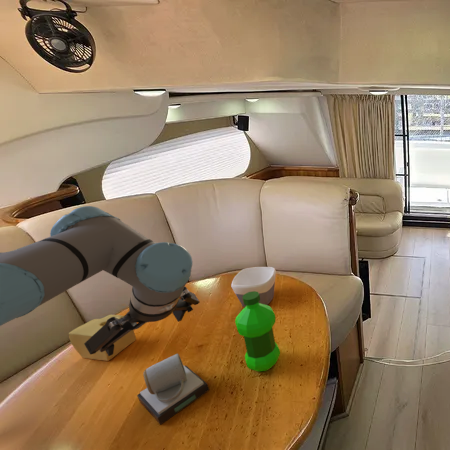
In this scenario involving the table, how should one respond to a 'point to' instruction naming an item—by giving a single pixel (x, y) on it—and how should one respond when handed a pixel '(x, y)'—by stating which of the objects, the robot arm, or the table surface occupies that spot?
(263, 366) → the plastic bottle
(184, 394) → the scale
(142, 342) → the table surface
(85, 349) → the cheese
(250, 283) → the bowl
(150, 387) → the ceramic mug
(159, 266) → the robot arm
